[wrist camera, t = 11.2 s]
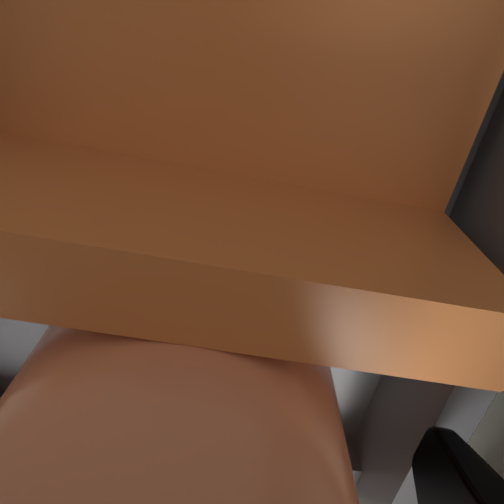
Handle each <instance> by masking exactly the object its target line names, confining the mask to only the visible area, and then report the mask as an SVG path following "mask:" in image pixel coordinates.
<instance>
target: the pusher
mask: <svg viewBox="0 0 504 504" xmlns="http://www.w3.org/2000/svg"><path fill="white" fill-rule="evenodd" d="M503 71H504V0H0V318H4V319H11V320H18V321H25V322H31V323H38V324H45V325H52V326H58V327H65V328H72V329H79V330H85V331H92V332H99V333H106V334H112V335H119V336H126V337H133V338H139V339H146V340H153V341H160V342H166V343H173V344H180V345H187V346H193V347H200V348H207V349H213V350H220V351H227V352H234V353H240V354H247V355H254V356H261V357H267V358H274V359H281V360H288V361H294V362H301V363H308V364H315V365H321V366H328V367H335V368H342V369H348V370H355V371H362V372H369V373H375V374H382V375H389V376H396V377H402V378H409V379H416V380H423V381H429V382H436V383H443V384H450V385H456V386H463V387H470V388H477V389H483V390H490V391H497V392H503V391H504V275H503V274H502V272H501V271H500V270H499V269H498V268H497V267H496V266H495V265H494V264H493V263H492V262H491V261H490V260H489V259H488V258H487V257H486V256H485V255H484V254H483V253H482V252H481V250H480V249H479V248H478V247H477V246H476V245H475V244H474V243H473V242H472V241H471V240H470V239H469V238H468V237H467V236H466V235H465V234H464V233H463V232H462V231H461V229H460V228H459V227H458V226H457V225H456V224H455V223H454V222H453V221H452V220H451V219H450V218H449V217H448V216H447V215H446V214H445V213H444V212H445V209H446V207H447V204H448V202H449V200H450V197H451V195H452V193H453V190H454V188H455V185H456V183H457V181H458V178H459V176H460V173H461V171H462V169H463V166H464V164H465V162H466V159H467V157H468V154H469V152H470V150H471V147H472V145H473V142H474V140H475V138H476V135H477V133H478V130H479V128H480V126H481V123H482V121H483V119H484V116H485V114H486V111H487V109H488V107H489V104H490V102H491V99H492V97H493V95H494V92H495V90H496V87H497V85H498V83H499V80H500V78H501V76H502V73H503Z"/></svg>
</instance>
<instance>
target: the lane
mask: <svg viewBox="0 0 504 504" xmlns="http://www.w3.org/2000/svg"><path fill="white" fill-rule="evenodd" d="M444 213H445V214H446V215H447V216H448V217H449V218H450V219H451V220H452V221H453V222H454V223H455V224H456V225H457V226H458V227H459V228H460V229H461V231H462V232H463V233H464V234H465V235H466V236H467V237H468V238H469V239H470V240H471V241H472V242H473V243H474V244H475V245H476V246H477V247H478V248H479V249H480V250H481V252H482V253H483V254H484V255H485V256H486V257H487V258H488V259H489V260H490V261H491V262H492V263H493V264H494V265H495V266H496V267H497V268H498V269H499V270H500V271H501V272H502V274H503V275H504V71H503V73H502V76H501V78H500V80H499V83H498V85H497V87H496V90H495V92H494V95H493V97H492V99H491V102H490V104H489V107H488V109H487V111H486V114H485V116H484V119H483V121H482V123H481V126H480V128H479V130H478V133H477V135H476V138H475V140H474V142H473V145H472V147H471V150H470V152H469V154H468V157H467V159H466V162H465V164H464V166H463V169H462V171H461V173H460V176H459V178H458V181H457V183H456V185H455V188H454V190H453V193H452V195H451V197H450V200H449V202H448V204H447V207H446V209H445V212H444ZM48 327H49V325H45V324H38V323H31V322H25V321H18V320H11V319H4V318H0V398H1V397H2V395H3V394H4V392H5V391H6V389H7V388H8V386H9V385H10V383H11V382H12V380H13V379H14V377H15V376H16V374H17V373H18V371H19V370H20V368H21V367H22V365H23V364H24V362H25V361H26V359H27V358H28V356H29V355H30V353H31V352H32V350H33V349H34V347H35V346H36V344H37V343H38V341H39V340H40V338H41V337H42V335H43V334H44V332H45V331H46V329H47V328H48ZM331 371H332V376H333V380H334V385H335V390H336V395H337V399H338V404H339V409H340V414H341V418H342V423H343V428H344V433H345V437H346V442H347V447H348V452H349V456H350V461H351V466H352V471H353V475H354V480H355V485H356V490H357V494H358V499H359V504H418V503H417V496H416V490H415V484H414V478H413V472H412V458H413V454H414V452H415V450H416V448H417V446H418V445H419V443H420V441H421V439H422V437H423V435H424V433H425V431H426V430H427V429H428V428H429V427H432V426H435V427H442V428H449V429H452V430H453V431H455V432H456V433H457V434H458V435H459V436H460V437H461V438H462V439H463V440H464V441H465V442H466V443H467V442H468V441H469V439H470V437H471V436H472V434H473V432H474V431H475V429H476V428H477V426H478V424H479V423H480V421H481V419H482V418H483V416H484V414H485V413H486V411H487V409H488V408H489V406H490V404H491V403H492V401H493V399H494V398H495V396H496V394H497V393H498V392H497V391H490V390H483V389H477V388H470V387H463V386H456V385H450V384H443V383H436V382H429V381H423V380H416V379H409V378H402V377H396V376H389V375H382V374H375V373H369V372H362V371H355V370H348V369H342V368H335V367H331Z"/></svg>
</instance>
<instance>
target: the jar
mask: <svg viewBox="0 0 504 504" xmlns="http://www.w3.org/2000/svg"><path fill="white" fill-rule="evenodd" d="M0 504H359V499H358V494H357V490H356V485H355V480H354V475H353V471H352V466H351V461H350V456H349V452H348V447H347V442H346V437H345V433H344V428H343V423H342V418H341V414H340V409H339V404H338V399H337V395H336V390H335V385H334V380H333V376H332V371H331V367H328V366H321V365H315V364H308V363H301V362H294V361H288V360H281V359H274V358H267V357H261V356H254V355H247V354H240V353H234V352H227V351H220V350H213V349H207V348H200V347H193V346H187V345H180V344H173V343H166V342H160V341H153V340H146V339H139V338H133V337H126V336H119V335H112V334H106V333H99V332H92V331H85V330H79V329H72V328H65V327H58V326H52V325H49V327H48V328H47V329H46V331H45V332H44V334H43V335H42V337H41V338H40V340H39V341H38V343H37V344H36V346H35V347H34V349H33V350H32V352H31V353H30V355H29V356H28V358H27V359H26V361H25V362H24V364H23V365H22V367H21V368H20V370H19V371H18V373H17V374H16V376H15V377H14V379H13V380H12V382H11V383H10V385H9V386H8V388H7V389H6V391H5V392H4V394H3V395H2V397H1V398H0Z"/></svg>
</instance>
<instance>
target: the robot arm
mask: <svg viewBox="0 0 504 504" xmlns="http://www.w3.org/2000/svg"><path fill="white" fill-rule="evenodd" d="M412 472H413V478H414V484H415V490H416V496H417V503H418V504H504V479H503V478H502V477H501V476H500V475H499V474H498V473H497V472H496V471H495V470H494V469H493V468H492V467H491V466H490V465H489V464H488V463H487V462H486V461H485V460H484V459H483V458H481V457H480V456H479V455H478V454H477V453H476V452H475V451H474V450H473V449H472V448H471V447H470V446H469V445H468V444H467V443H466V442H465V441H464V440H463V439H462V438H461V437H460V436H459V435H458V434H457V433H456V432H455V431H453V430H452V429H449V428H442V427H435V426H432V427H429V428H428V429H427V430H426V431H425V433H424V435H423V437H422V439H421V441H420V443H419V445H418V446H417V448H416V450H415V452H414V454H413V458H412Z"/></svg>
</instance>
